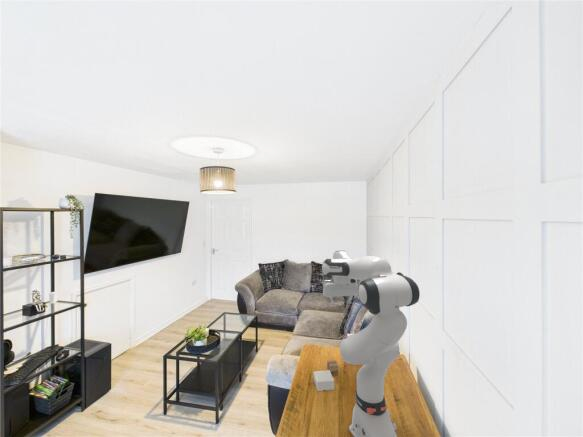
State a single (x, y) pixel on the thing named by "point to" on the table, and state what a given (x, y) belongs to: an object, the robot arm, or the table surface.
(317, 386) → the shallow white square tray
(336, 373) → the oak block
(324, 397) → the table surface
